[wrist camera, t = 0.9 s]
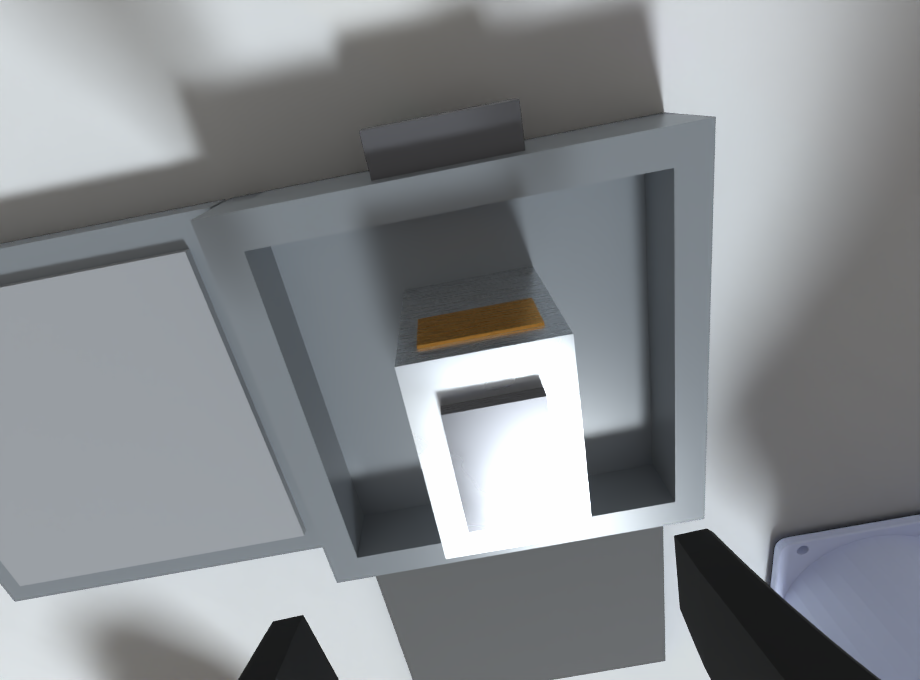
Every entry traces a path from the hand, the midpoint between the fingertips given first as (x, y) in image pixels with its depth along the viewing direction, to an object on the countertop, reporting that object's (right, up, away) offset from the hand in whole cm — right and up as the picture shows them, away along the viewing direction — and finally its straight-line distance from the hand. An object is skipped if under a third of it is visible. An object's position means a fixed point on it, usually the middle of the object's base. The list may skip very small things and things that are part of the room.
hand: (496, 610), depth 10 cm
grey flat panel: (+2, -7, +14) cm, 15 cm away
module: (0, +4, +7) cm, 8 cm away
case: (-7, +4, +8) cm, 11 cm away
